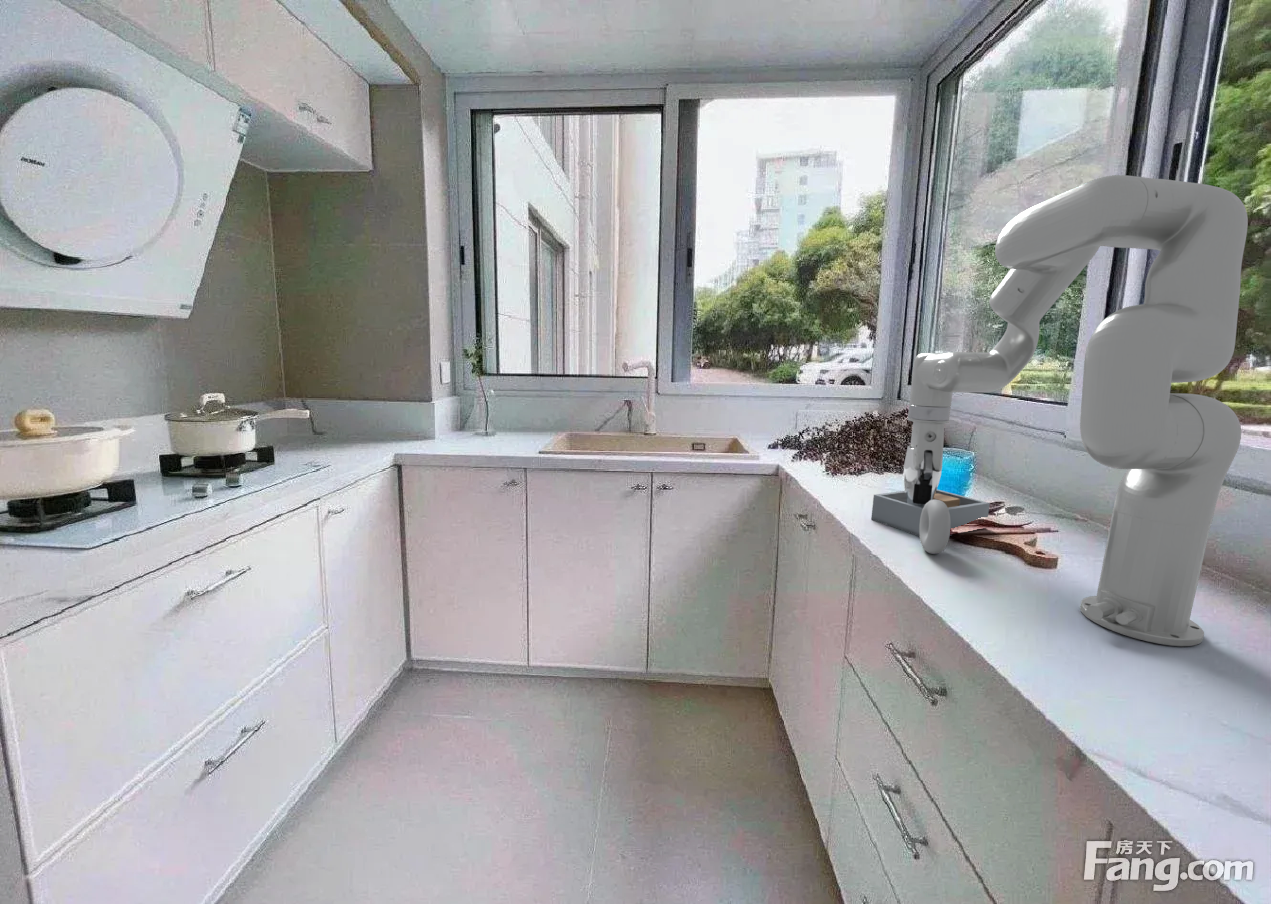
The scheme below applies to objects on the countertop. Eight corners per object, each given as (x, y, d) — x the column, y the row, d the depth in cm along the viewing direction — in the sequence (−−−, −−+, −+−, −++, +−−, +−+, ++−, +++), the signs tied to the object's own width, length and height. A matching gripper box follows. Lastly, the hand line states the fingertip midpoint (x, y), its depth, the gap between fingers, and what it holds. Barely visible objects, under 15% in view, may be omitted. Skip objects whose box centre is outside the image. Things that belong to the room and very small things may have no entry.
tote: (928, 539, 109) (932, 512, 108) (871, 519, 121) (873, 494, 120) (986, 528, 116) (989, 503, 115) (926, 510, 129) (929, 487, 128)
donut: (948, 563, 97) (956, 508, 95) (927, 561, 97) (934, 506, 96) (934, 544, 106) (941, 494, 104) (914, 542, 107) (921, 492, 105)
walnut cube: (957, 521, 119) (960, 499, 118) (941, 524, 117) (944, 501, 116) (935, 514, 123) (938, 493, 123) (920, 517, 121) (923, 495, 120)
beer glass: (940, 524, 113) (949, 451, 110) (903, 521, 114) (911, 449, 111) (929, 514, 119) (937, 445, 116) (894, 511, 121) (902, 444, 118)
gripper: (958, 420, 103) (946, 512, 107) (941, 411, 119) (931, 491, 123) (914, 417, 106) (903, 508, 109) (903, 409, 122) (894, 488, 125)
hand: (918, 498), depth 116 cm, fingers closed on beer glass, 6 cm apart
